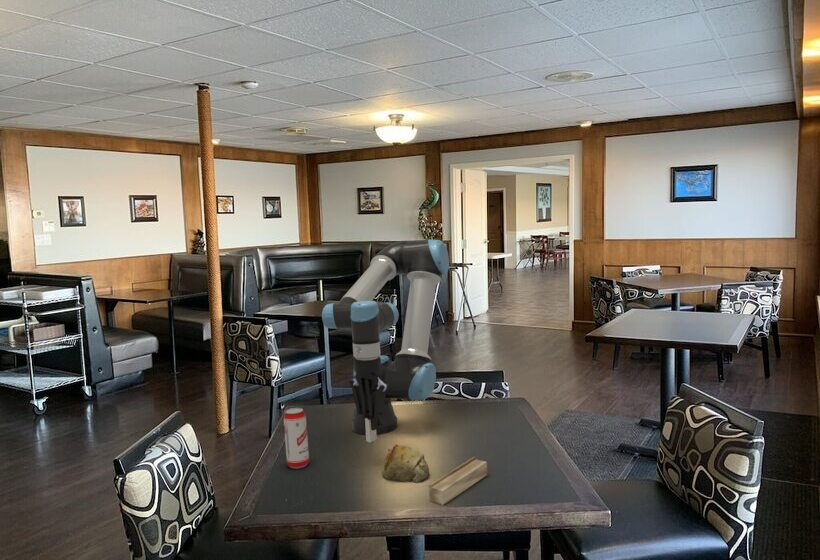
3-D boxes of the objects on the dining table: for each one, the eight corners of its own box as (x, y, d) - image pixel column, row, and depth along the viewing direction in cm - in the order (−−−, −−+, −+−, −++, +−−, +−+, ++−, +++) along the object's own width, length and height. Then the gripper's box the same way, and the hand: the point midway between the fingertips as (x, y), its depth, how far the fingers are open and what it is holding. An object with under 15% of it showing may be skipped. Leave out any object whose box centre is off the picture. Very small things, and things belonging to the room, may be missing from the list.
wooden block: (429, 500, 149) (428, 484, 149) (474, 471, 165) (473, 456, 165) (443, 505, 147) (442, 488, 147) (487, 474, 162) (486, 459, 162)
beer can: (313, 461, 178) (309, 407, 176) (302, 470, 172) (298, 414, 170) (294, 460, 180) (290, 406, 178) (283, 468, 174) (278, 413, 172)
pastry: (374, 470, 170) (372, 441, 169) (415, 460, 175) (413, 433, 174) (394, 489, 157) (392, 459, 156) (438, 478, 162) (436, 449, 161)
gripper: (340, 357, 172) (345, 440, 174) (375, 362, 164) (380, 449, 166) (359, 352, 178) (363, 432, 180) (393, 356, 170) (398, 440, 172)
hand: (371, 440), depth 173 cm, fingers closed
